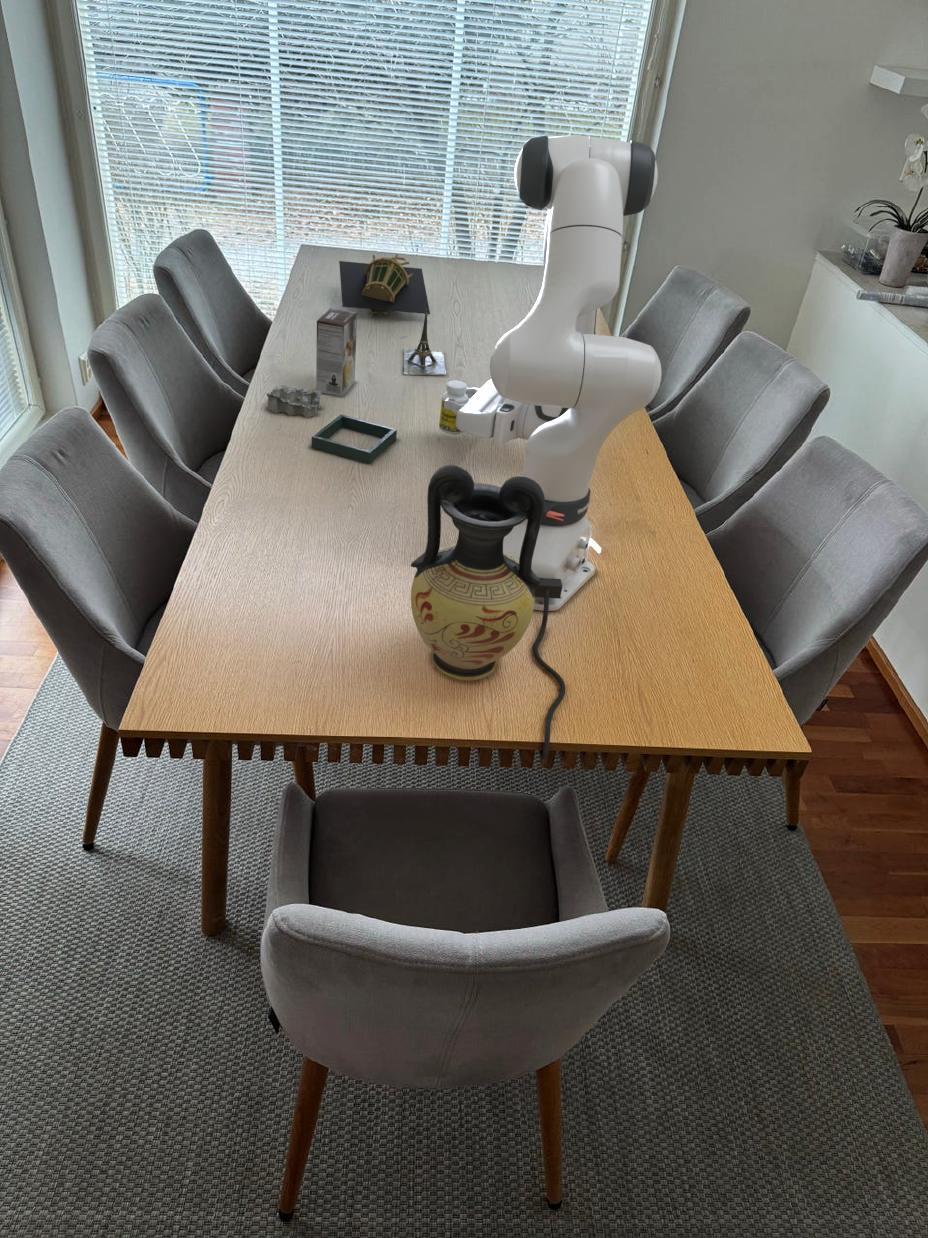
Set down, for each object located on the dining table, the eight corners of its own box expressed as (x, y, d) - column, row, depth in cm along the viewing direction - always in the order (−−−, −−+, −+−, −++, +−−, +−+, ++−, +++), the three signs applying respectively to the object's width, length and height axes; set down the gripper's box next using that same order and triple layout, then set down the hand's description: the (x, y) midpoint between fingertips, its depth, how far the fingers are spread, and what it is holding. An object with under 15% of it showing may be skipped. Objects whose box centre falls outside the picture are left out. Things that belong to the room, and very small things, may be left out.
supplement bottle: (435, 431, 190) (439, 385, 184) (443, 421, 194) (447, 376, 188) (460, 437, 189) (465, 391, 183) (468, 427, 193) (473, 382, 187)
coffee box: (328, 377, 213) (329, 306, 203) (355, 382, 212) (358, 311, 203) (315, 392, 205) (316, 319, 196) (343, 397, 205) (345, 325, 195)
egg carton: (264, 412, 195) (263, 393, 192) (275, 398, 201) (274, 379, 198) (314, 419, 194) (314, 401, 192) (323, 405, 200) (324, 387, 198)
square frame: (369, 464, 181) (370, 453, 179) (311, 447, 184) (311, 436, 182) (396, 439, 191) (397, 429, 189) (340, 424, 193) (340, 414, 192)
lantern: (338, 330, 248) (335, 267, 266) (423, 343, 254) (414, 280, 272) (345, 285, 238) (342, 222, 256) (434, 300, 244) (424, 237, 262)
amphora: (519, 628, 143) (551, 450, 125) (529, 702, 129) (566, 513, 112) (404, 621, 141) (420, 439, 124) (402, 694, 128) (419, 502, 110)
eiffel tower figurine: (446, 377, 220) (452, 321, 212) (403, 374, 219) (408, 317, 211) (443, 353, 232) (448, 299, 224) (402, 350, 231) (406, 296, 223)
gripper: (533, 380, 191) (470, 365, 194) (501, 416, 175) (433, 399, 178) (529, 409, 194) (467, 394, 197) (497, 447, 178) (430, 430, 182)
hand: (451, 397), depth 188 cm, fingers closed on supplement bottle, 5 cm apart
